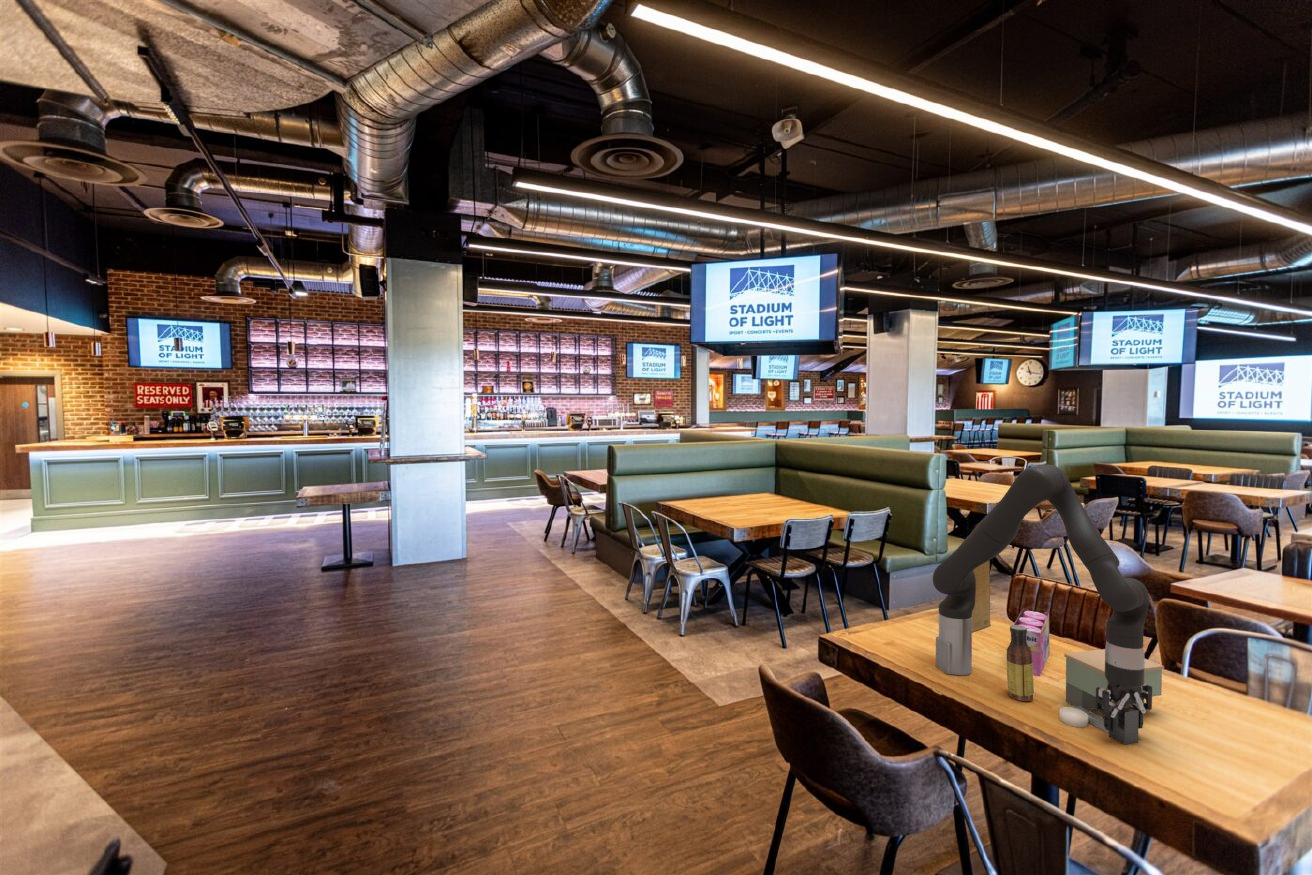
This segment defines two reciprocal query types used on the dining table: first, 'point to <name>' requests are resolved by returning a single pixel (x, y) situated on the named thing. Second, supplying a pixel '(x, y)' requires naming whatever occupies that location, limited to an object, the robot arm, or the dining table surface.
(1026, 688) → the sauce bottle
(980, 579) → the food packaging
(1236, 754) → the dining table surface
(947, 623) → the robot arm
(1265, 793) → the dining table surface
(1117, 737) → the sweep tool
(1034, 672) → the gum box
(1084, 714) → the puck
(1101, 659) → the cabinet
